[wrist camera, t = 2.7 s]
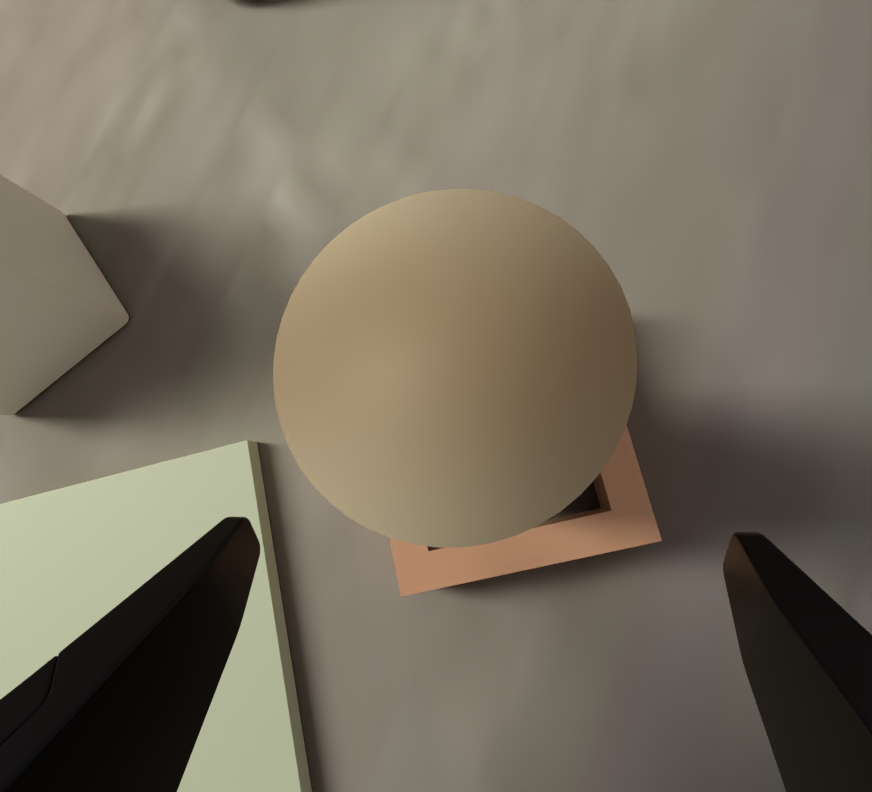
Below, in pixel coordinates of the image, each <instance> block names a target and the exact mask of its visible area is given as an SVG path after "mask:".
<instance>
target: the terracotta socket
mask: <svg viewBox="0 0 872 792" xmlns="http://www.w3.org/2000/svg"><path fill="white" fill-rule="evenodd" d="M593 483H594V486H595V490H596V493H597V497H598V500H599V504H600V507H601V508H598V509H593V510H589V511H584V512H580V513H576V514H571V515H567V516H562V517H558V518H553V519H549V520H546V521H545V522H543V523H541V524H540V525H538V526H536V527H534V528H532V529H529V530H527V531H525V532H523V533H520V534H518V535H516V536H513V537H510V538H507V539H503V540H500V541H496V542H493V543H489V544H483V545H476V546H470V547H449V548H438V547H430V546H422V545H414V544H410V543H406V542H403V541H399V540H395V539H391V538H389V539H390V544H391V549H392V554H393V559H394V564H395V569H396V574H397V579H398V584H399V589H400V594H401V597H402V596H406V595H411V594H416V593H420V592H425V591H430V590H435V589H439V588H444V587H449V586H453V585H458V584H463V583H467V582H472V581H477V580H481V579H486V578H491V577H495V576H500V575H505V574H509V573H514V572H519V571H524V570H528V569H533V568H538V567H542V566H547V565H552V564H556V563H561V562H566V561H570V560H575V559H580V558H584V557H589V556H594V555H598V554H603V553H608V552H613V551H617V550H622V549H627V548H631V547H636V546H641V545H645V544H650V543H655V542H659V541H662V539H661V536H660V533H659V529H658V526H657V523H656V520H655V516H654V513H653V510H652V506H651V503H650V500H649V497H648V493H647V490H646V487H645V483H644V480H643V477H642V474H641V470H640V467H639V464H638V460H637V457H636V454H635V451H634V447H633V444H632V441H631V438H630V434H629V431H628V428H627V424H626V427H625V430H624V432H623V434H622V436H621V438H620V441H619V443H618V445H617V447H616V449H615V451H614V453H613V454H612V456H611V457H610V459H609V460H608V462H607V463H606V465H605V466H604V468H603V469H602V471H601V472H600V473H599V475H598V476H597V477H596V478H595V479H594V481H593Z"/></svg>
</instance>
